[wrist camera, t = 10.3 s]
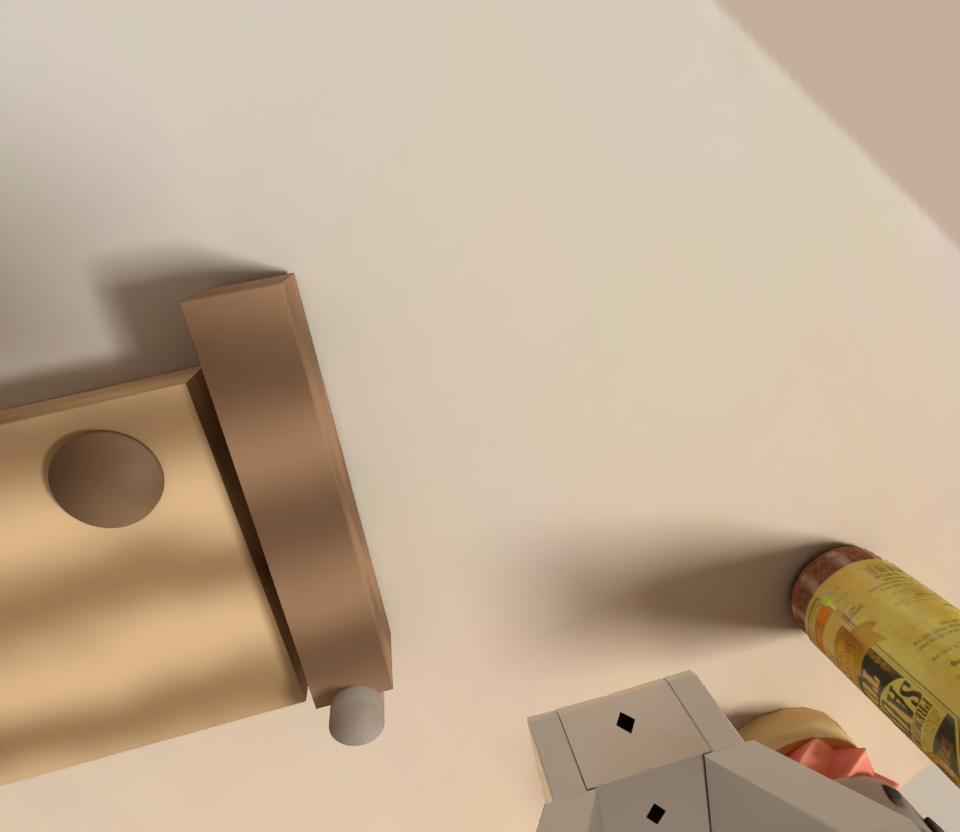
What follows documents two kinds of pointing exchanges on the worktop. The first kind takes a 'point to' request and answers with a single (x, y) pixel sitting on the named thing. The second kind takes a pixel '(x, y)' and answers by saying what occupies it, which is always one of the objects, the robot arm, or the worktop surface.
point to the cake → (830, 756)
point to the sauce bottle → (888, 644)
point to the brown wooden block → (297, 492)
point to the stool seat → (129, 578)
